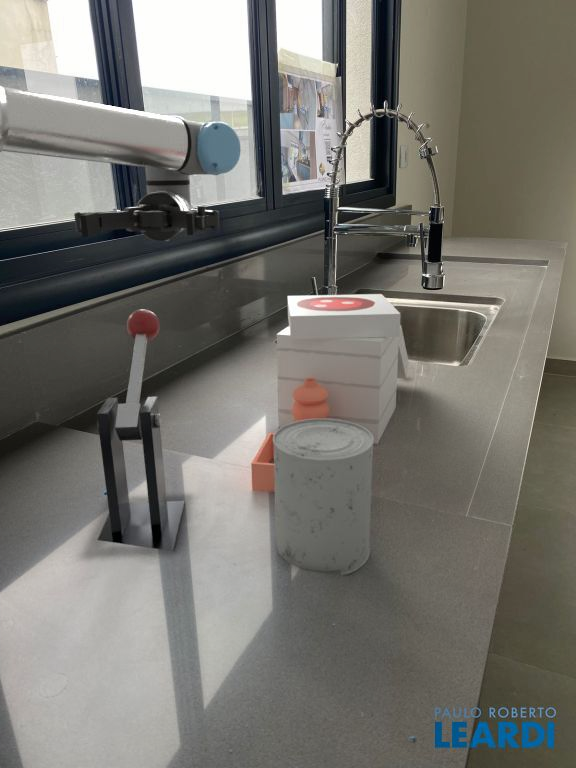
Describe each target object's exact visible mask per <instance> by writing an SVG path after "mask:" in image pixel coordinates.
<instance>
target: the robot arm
mask: <svg viewBox="0 0 576 768" xmlns="http://www.w3.org/2000/svg"><path fill="white" fill-rule="evenodd" d="M1 152H8V153H17V154H26V155H27V154H28V155H35V156H45V157H53V158H59V159H60V158H62V159H69V160H79V161H88V162H96V163H105V164H113V165H122V166H129V167H130V166H131V167H133V166H134V167H138V168H139V167H140V168H144V169H145V179H146V194H145V195H143V197H141V198H140V200H139V201H138V202H137V204H136V206H129V207H124V209H123V210H122V211H121V210H120V209H117V208H113V209H111V210H102V211H101V210H99V211H88V212H80V211H77V212H75V213H73V215H74V222H75V223H74V224H75V230H76V232H77V233H81V237H82V238H96V235H98V234H101V233H102V231H103V232H104V231H117V230H126V231H127V232H140V233H141V234H142V235H144V237H146V238H147V239H149V240H151V241H154V242H155V241H156V242H169V241H170V240H171V239H172V238H175V237H176V236H177V235H178V234H181V233H183V232H185V231H186V233H187V234H186V235H187V236H194V235H195V234H196V233H197V232H199V231H206V230H207V229H209V230H213V231H218V230H220V212H219V210H216V209H215V210H214V209H213V210H211V209H206V205H200V206H199V205H198V206H197V207H195V208H194V204H193V202H192V198H191V197H192V196H191V195H192V194H191V181H190V180H191V178H190V176H193V175H194V176H195V175H204V176H205V175H206V176H207V175H208V176H209V175H210V176H211V175H212V176H218V175H219V176H220V175H221V174H227V173H230V172H231V171H233V170H234V169H235V168H236V166H237V165H238V162H239V160H240V157H241V141H240V137H239V136H238V134H237V131H235V129H234V128H233V127H232V126H231V125H229V124H228V123H226V122H223V121H214V120H208V121H205V122H199V121H195V120H189V119H185V118H184V117H183V116H179V115H168V114H167V115H166V114H165V115H164V114H163V115H161V114H155V113H152V112H151V113H150V112H145V111H140V110H135V109H128V108H123V107H118V106H112V105H106V104H101V103H95V102H89V101H84V100H79V99H73V98H68V97H64V96H63V97H62V96H57V95H51V94H46V93H40V92H35V91H29V90H24V89H18V88H14V87H7V86H3V85H0V153H1Z"/></svg>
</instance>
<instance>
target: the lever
mask: <svg viewBox="0 0 576 768" xmlns="http://www.w3.org/2000/svg"><path fill="white" fill-rule="evenodd" d="M160 326H161V324H160V320H159V318H158V316H157V314H156V313H154V312H152V311H151V310H149V309H145V308H143V309H137V310H134V311H133V312H132V313H130V315H129V316H128V318H127V320H126V330H127V332H128V334H129V335H130V337H131V338H132V339H134V346H133V352H132V357H131V366H130V372H129V380H128V387H127V393H126V399H125V403H118V408H117V415H116V421H115V430H116V432H117V435H118V437H119V440H122V441H142V431H141V421H140V411H141V409H142V407H143V406H142V404H141V403H140V401H141V392H142V385H143V376H144V368H145V362H146V354H147V347H148V342H150V341H152V340H153V339H155V338H156V336H158V334H159V332H160V328H161V327H160Z"/></svg>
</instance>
